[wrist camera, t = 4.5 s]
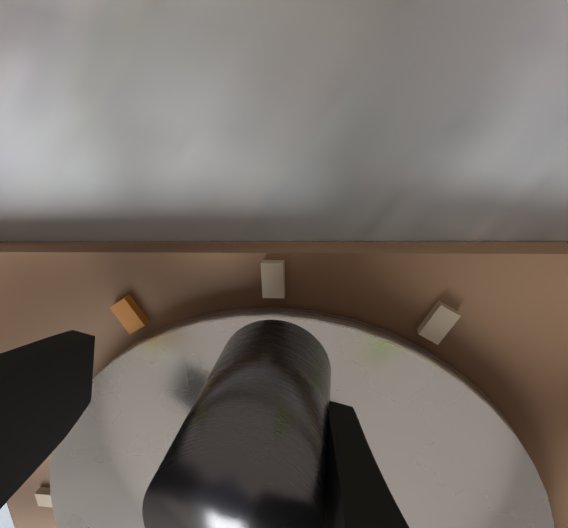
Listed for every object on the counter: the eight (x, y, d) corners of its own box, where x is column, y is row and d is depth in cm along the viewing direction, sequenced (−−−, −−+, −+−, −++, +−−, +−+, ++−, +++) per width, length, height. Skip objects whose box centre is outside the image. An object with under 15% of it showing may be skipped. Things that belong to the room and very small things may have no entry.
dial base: (564, 691, 16) (585, 745, 15) (72, 619, 19) (50, 658, 18) (696, 241, 10) (753, 258, 9) (-42, 241, 13) (-86, 254, 12)
